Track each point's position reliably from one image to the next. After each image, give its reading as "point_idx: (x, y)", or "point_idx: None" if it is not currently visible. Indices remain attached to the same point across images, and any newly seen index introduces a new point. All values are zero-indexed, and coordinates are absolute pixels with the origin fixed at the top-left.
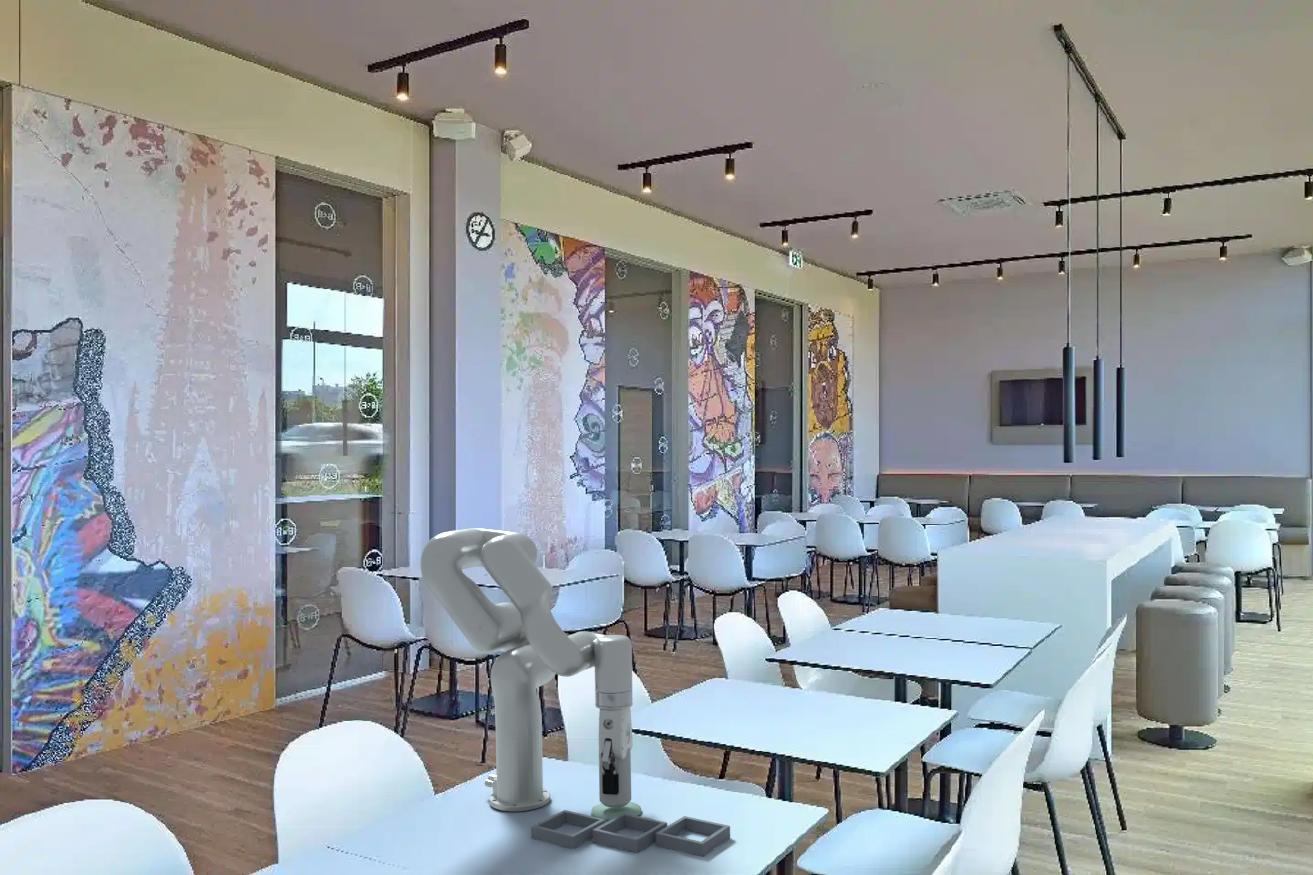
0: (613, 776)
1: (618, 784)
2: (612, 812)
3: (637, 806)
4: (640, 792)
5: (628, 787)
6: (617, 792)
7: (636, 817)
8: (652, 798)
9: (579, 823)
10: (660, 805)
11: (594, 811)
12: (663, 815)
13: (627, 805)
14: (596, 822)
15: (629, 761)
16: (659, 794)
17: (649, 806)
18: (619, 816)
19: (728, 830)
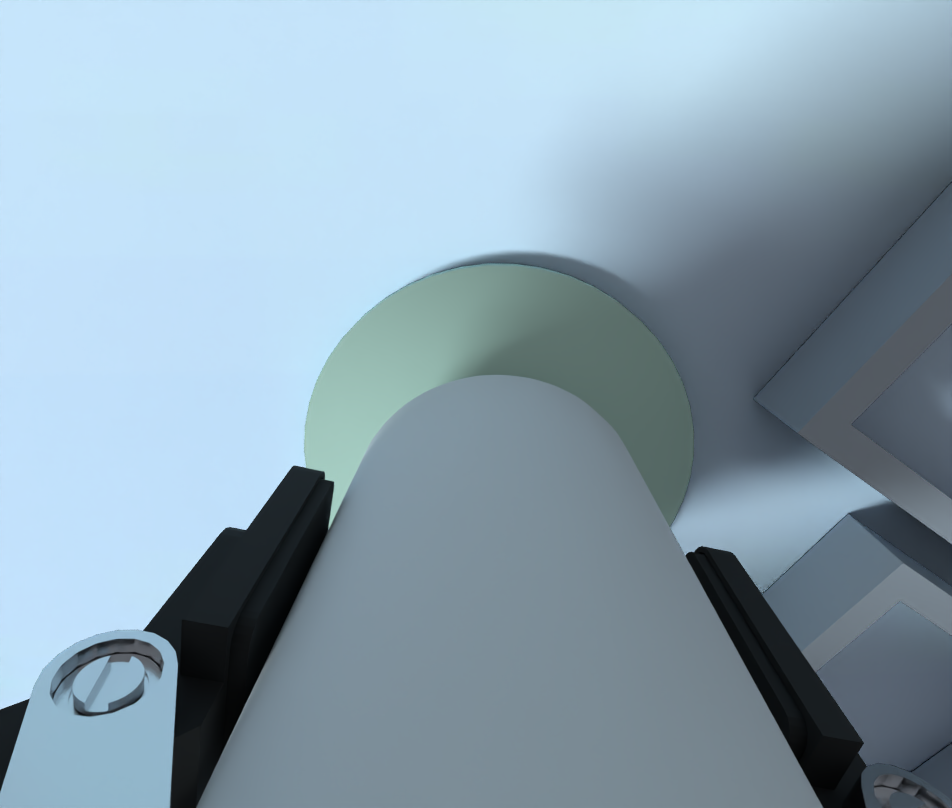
0: (858, 773)
1: (758, 613)
2: None
3: (441, 299)
4: (27, 270)
5: (603, 457)
6: (734, 565)
7: (947, 320)
8: (164, 157)
9: None
10: (344, 77)
11: None
12: (610, 49)
13: (414, 382)
14: (944, 619)
15: (664, 706)
16: (45, 83)
17: (370, 188)
18: (871, 464)
19: None
